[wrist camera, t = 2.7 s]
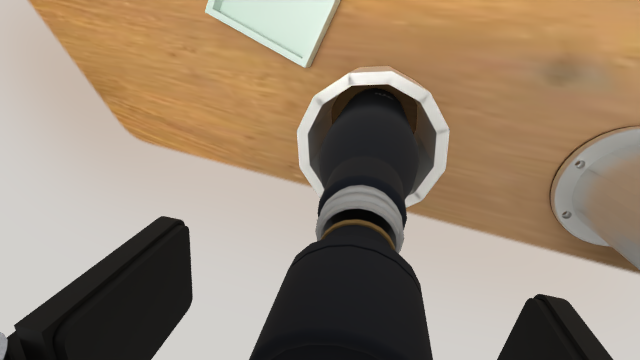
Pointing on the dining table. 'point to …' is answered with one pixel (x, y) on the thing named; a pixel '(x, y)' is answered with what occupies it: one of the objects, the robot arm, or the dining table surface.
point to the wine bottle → (355, 249)
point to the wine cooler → (427, 135)
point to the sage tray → (279, 23)
